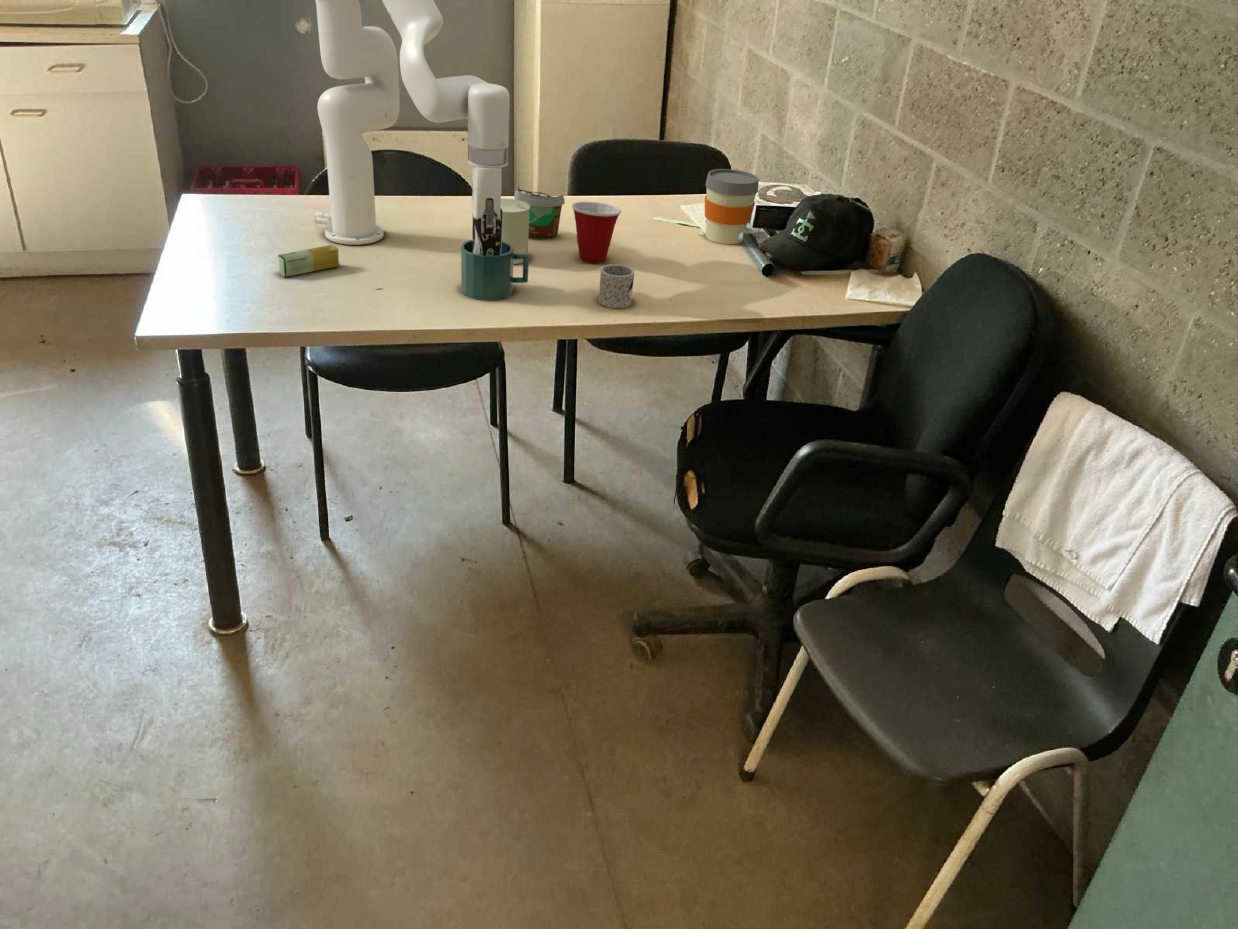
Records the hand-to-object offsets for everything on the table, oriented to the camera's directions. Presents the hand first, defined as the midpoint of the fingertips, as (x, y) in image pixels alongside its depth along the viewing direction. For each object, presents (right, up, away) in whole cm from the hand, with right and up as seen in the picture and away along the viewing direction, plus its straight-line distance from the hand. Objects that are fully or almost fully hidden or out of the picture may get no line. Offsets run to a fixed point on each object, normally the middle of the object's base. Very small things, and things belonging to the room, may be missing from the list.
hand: (487, 248), depth 190 cm
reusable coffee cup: (+52, +13, +45) cm, 70 cm away
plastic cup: (+20, +3, +25) cm, 32 cm away
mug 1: (+1, -7, +5) cm, 9 cm away
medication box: (-37, -3, +6) cm, 37 cm away
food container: (+6, +11, +35) cm, 37 cm away
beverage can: (0, -2, +2) cm, 3 cm away
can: (+2, +3, +22) cm, 22 cm away
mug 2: (+25, -9, +7) cm, 27 cm away
